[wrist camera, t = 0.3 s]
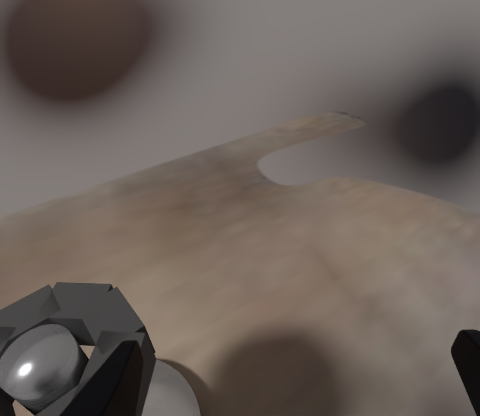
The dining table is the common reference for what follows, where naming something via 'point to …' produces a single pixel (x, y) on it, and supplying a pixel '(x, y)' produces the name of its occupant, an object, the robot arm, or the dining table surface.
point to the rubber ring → (78, 331)
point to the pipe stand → (78, 374)
